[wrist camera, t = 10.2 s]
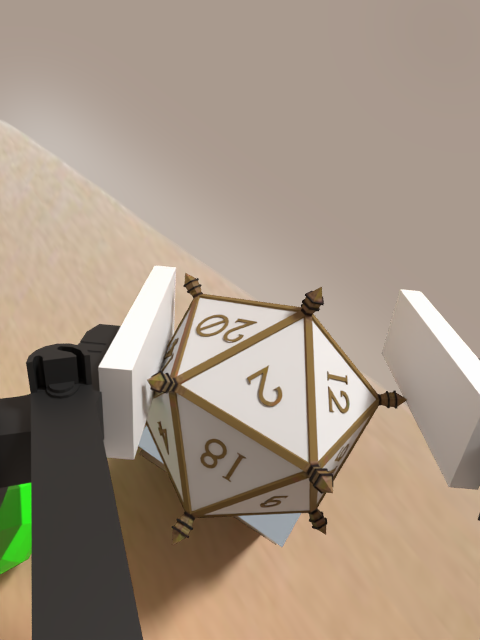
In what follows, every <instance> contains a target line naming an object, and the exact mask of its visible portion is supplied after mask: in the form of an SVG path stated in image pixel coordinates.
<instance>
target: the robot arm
mask: <svg viewBox="0 0 480 640" xmlns="http://www.w3.org/2000/svg"><path fill="white" fill-rule="evenodd" d="M175 281H176V268H175V267H165V266H154V268H153V270H152V271H151V273H150V275H149V277H148V279H147V280H146V282H145V284H144V286H143V288H142V289H141V291H140V293H139V295H138V297H137V298H136V300H135V302H134V304H133V306H132V307H131V309H130V311H129V313H128V315H127V316H126V318H125V320H124V322H123V324H122V325H121V326H114V325H103V324H99V325H97V326H96V327H94V328H92V329H91V330H89V331H87V332H86V334H85V335H84V337H83V338H82V340H81V341H80V343H79V344H78V345H74V344H54V345H49V346H45V347H43V348H40V349H38V350H36V351H35V352H33V353H32V354H31V355H30V356H29V357H28V359H27V362H26V365H27V371H28V378H29V385H30V391H31V394H29V395H25V396H19V397H12V398H3V399H0V508H1V505H2V503H3V500H4V497H5V495H6V492H7V489H8V487H9V486H15V485H21V484H26V483H31V534H32V640H143V637H142V632H141V627H140V622H139V617H138V612H137V607H136V602H135V597H134V592H133V587H132V582H131V577H130V572H129V567H128V562H127V557H126V552H125V547H124V542H123V537H122V532H121V527H120V522H119V517H118V512H117V507H116V502H115V497H114V492H113V487H112V482H111V477H110V472H109V467H108V462H107V457H108V458H119V459H131V460H134V458H135V455H136V451H137V448H138V445H139V442H140V439H141V436H142V433H143V429H144V426H145V423H146V420H147V417H148V414H149V411H150V407H151V404H152V401H153V398H154V391H153V390H150V388H151V386H150V384H149V383H148V381H147V379H149V378H151V376H152V375H154V374H156V373H158V372H159V371H161V369H162V365H163V362H164V357H165V355H166V352H167V346H168V344H169V342H170V340H171V338H172V337H173V335H174V314H175ZM382 355H383V357H384V358H385V360H386V363H387V364H388V367H389V368H390V371H391V373H392V375H393V377H394V378H395V381H396V383H397V384H398V386H399V389H400V390H401V392H402V395H403V397H404V398H406V399H407V401H406V402H407V404H408V406H409V408H410V410H411V412H412V414H413V416H414V418H415V420H416V422H417V424H418V426H419V428H420V430H421V432H422V434H423V436H424V438H425V440H426V442H427V444H428V446H429V448H430V450H431V452H432V454H433V456H434V458H435V460H436V462H437V464H438V466H439V468H440V470H441V472H442V474H443V476H444V478H445V480H446V482H447V484H448V486H449V487H454V488H466V489H477V490H478V488H479V486H480V359H478V358H477V357H476V356H475V354H474V353H473V352H472V351H471V350H470V349H469V347H468V346H467V345H466V344H465V343H464V341H462V339H461V338H460V337H459V336H458V334H457V333H456V332H455V331H454V330H453V329H452V327H451V326H450V325H449V324H448V323H447V322H446V320H445V319H444V318H443V317H442V316H441V315H440V313H439V312H438V311H437V310H436V309H435V308H434V306H433V305H432V304H431V303H430V302H429V301H428V299H427V298H426V297H425V296H424V295H423V294H422V292H421V291H411V290H400V292H399V295H398V299H397V302H396V306H395V309H394V313H393V316H392V320H391V323H390V327H389V330H388V334H387V337H386V341H385V344H384V348H383V351H382ZM478 520H479V521H480V514H479V517H478Z"/></svg>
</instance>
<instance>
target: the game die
mask: <svg viewBox="0 0 480 640" xmlns="http://www.w3.org/2000/svg"><path fill="white" fill-rule="evenodd" d="M198 280H199V279H198V278H197V279H196V278H194V277H192V276H190V275H188V274H187V273H185V285H183V286H184V287H186V288H187V290H188V291H187V293H190V294H191V295H192V296H193V298H194V299H193V301H192V302H191V304H190V306H189V308H188V310H187V311H186V313H185V315H184V317H183V319H182V320H181V322H180V324H179V326H178V328H177V329H176V331H175V333H174V335H173V337H172V338H171V340H170V342H169V344H168V346H167V352H166V355H165V357H164V362H163V365H162V369H161V371H159V372H158V373H156V374H154V375H152V376H151V378H149V379H147V381H148V383H149V384H150V386H151V388H150V390H153V391H154V398H153V401H152V404H151V407H150V411H149V414H148V417H147V420H146V425H147V427H148V430H149V432H150V434H151V436H152V439H153V441H154V443H155V445H156V448H157V450H158V452H159V454H160V457H161V459H162V461H163V463H164V466H165V468H166V470H167V472H168V475H169V477H170V479H171V481H172V484H173V486H174V488H175V490H176V493H177V495H178V497H179V499H180V502H181V504H182V506H183V508H184V511H185V512H184V515H183V516H182V517H181V518H180V519H178V518H177V523H176V524H175V526H172V528H173V545H174V544H176V543H178V542H180V541H181V540H183V539H185V538H186V537H187V538H189V536H188V534H189V532H190V530H193V528H192V524H193V520H194V519H195V518H204V517H226V516H248V515H270V514H292V513H309V516H310V519H309V522H312V525H313V526H312V528H314V529H317V530H319V531H321V532H322V533H324V534H326V524H327V518H324V516H323V512H320V511H319V510H318V509H317V507H318V506H319V504H320V502H321V501H322V499H323V497H324V496H325V494H326V492H327V493H333V489H332V487H333V481H334V479H335V478H336V476H337V474H338V473H339V471H340V469H341V468H342V466H343V464H344V463H345V461H346V459H347V458H348V456H349V454H350V453H351V451H352V449H353V448H354V446H355V444H356V443H357V441H358V439H359V438H360V436H361V434H362V433H363V431H364V429H365V428H366V426H367V424H368V423H369V421H370V419H371V418H372V416H373V414H374V413H375V411H376V409H377V408H378V406H379V405H384V406H386V407H387V408H390V407H394V408H397V406H399V405H400V404H402V403H403V402H405V401H407V399H406V398H404V397H402V396H401V395H399V394H397V393H396V391H393V392H390V393H388V391H386V393H384V394H381V395H380V394H377V393H376V391H375V390H374V389H373V388H372V386H371V385H370V384H369V383H368V381H367V380H366V379H365V378H364V376H363V375H362V374H361V373H360V371H359V370H358V369H357V368H356V366H355V365H354V364H353V363H352V361H351V360H350V359H349V358H348V356H347V355H346V354H345V353H344V352H343V350H342V349H341V348H340V347H339V345H338V344H337V343H336V342H335V340H334V339H333V338H332V337H331V335H330V334H329V333H328V332H327V330H326V329H325V328H324V327H323V326H322V324H321V323H320V322H319V321H318V319H317V318H316V317H315V316H314V314H313V313H314V312H315V311H319V310H320V309H319V307H320V305H323V304H324V301H323V297H322V287H320V288H318V289H316V290H315V291H310V292H308V293H306V294H305V296H306V298H305V299H304V300H303V301H302V303H303V304H302V305H301V307H295V306H287V305H280V304H273V303H265V302H258V301H251V300H244V299H236V298H229V297H222V296H215V295H207V294H203V293H202V292H201V288H200V287H201V284H200V285H199V283H198Z"/></svg>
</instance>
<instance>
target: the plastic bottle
mask: <svg viewBox="0 0 480 640" xmlns="http://www.w3.org/2000/svg"><path fill="white" fill-rule="evenodd" d="M31 553H32V534H31V483H26V484H21V485H15V486H9V487H8V489H7V492H6V495H5V497H4V500H3V503H2V505H1V508H0V574H2V573H4V572H6V571H8V570H9V569H11V568H13V567H15V566H17V565H18V564H20V563H22V562H24V561H25V560H27V559H28V558H29V557H30V555H31Z"/></svg>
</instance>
